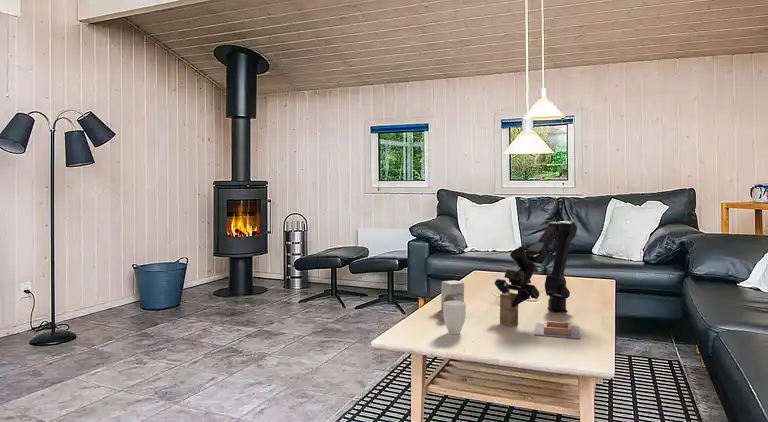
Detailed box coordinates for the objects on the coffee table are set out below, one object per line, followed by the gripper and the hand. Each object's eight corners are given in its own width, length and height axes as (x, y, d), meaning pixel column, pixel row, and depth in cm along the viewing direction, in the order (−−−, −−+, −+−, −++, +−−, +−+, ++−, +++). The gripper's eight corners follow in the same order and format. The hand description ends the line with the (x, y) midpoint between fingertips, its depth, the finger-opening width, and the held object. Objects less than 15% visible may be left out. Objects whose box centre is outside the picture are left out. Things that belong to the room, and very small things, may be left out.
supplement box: (450, 313, 232) (450, 284, 231) (440, 309, 239) (440, 281, 238) (464, 311, 235) (464, 282, 235) (454, 307, 242) (454, 279, 241)
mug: (463, 337, 197) (463, 306, 197) (440, 334, 200) (440, 304, 199) (469, 328, 208) (469, 299, 208) (448, 326, 211) (448, 297, 211)
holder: (536, 324, 214) (536, 318, 214) (579, 327, 209) (579, 321, 209) (534, 335, 199) (534, 328, 199) (580, 339, 194) (580, 332, 194)
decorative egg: (456, 316, 226) (456, 293, 226) (457, 320, 220) (457, 296, 220) (441, 316, 227) (441, 292, 226) (442, 320, 221) (442, 296, 220)
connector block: (507, 321, 218) (508, 292, 218) (518, 324, 214) (518, 294, 214) (499, 323, 215) (500, 293, 214) (510, 326, 211) (510, 295, 211)
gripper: (497, 259, 223) (479, 289, 217) (535, 265, 208) (517, 297, 202) (509, 276, 228) (492, 305, 222) (547, 282, 214) (529, 314, 208)
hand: (506, 305), depth 213 cm, fingers closed on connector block, 5 cm apart
